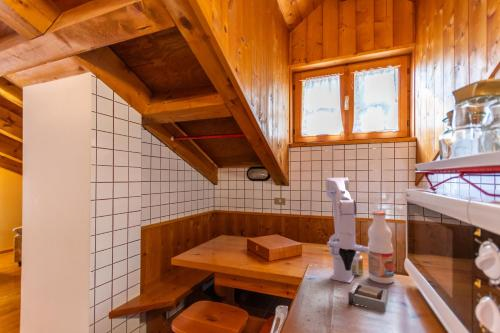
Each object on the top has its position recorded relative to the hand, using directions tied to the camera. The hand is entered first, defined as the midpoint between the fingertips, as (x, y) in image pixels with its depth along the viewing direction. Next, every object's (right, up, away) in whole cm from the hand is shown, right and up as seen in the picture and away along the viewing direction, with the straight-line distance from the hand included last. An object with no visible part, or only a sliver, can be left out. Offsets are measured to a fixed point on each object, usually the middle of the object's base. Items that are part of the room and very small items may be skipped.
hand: (348, 269), depth 92 cm
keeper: (+1, -9, -4) cm, 10 cm away
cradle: (+6, -9, -6) cm, 12 cm away
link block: (+5, -9, -6) cm, 12 cm away
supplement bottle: (+11, -10, +19) cm, 25 cm away
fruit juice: (+19, -9, +12) cm, 24 cm away
